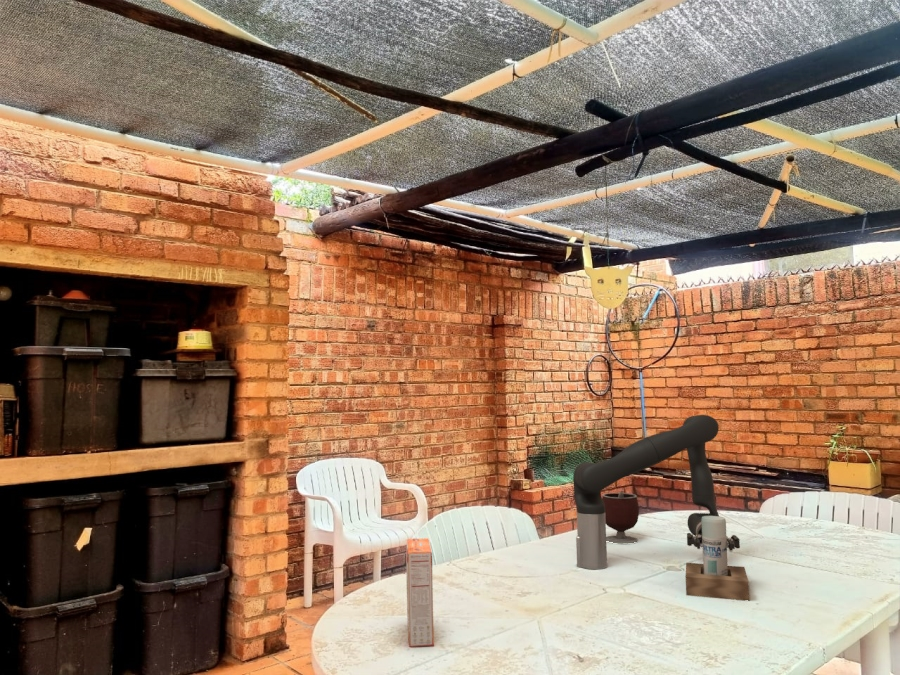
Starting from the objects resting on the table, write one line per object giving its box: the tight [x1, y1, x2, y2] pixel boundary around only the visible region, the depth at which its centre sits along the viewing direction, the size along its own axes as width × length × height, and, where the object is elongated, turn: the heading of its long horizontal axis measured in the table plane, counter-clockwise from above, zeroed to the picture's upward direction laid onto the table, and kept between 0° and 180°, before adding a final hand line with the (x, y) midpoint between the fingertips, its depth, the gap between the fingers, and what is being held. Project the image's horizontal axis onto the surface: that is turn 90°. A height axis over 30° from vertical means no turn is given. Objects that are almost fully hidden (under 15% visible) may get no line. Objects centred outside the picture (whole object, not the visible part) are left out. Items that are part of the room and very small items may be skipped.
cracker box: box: [405, 537, 435, 648], centre depth 150 cm, size 14×6×21 cm, turn 5°
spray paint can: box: [701, 515, 728, 576], centre depth 183 cm, size 6×6×20 cm
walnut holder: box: [685, 562, 751, 602], centre depth 182 cm, size 16×16×5 cm
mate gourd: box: [601, 490, 640, 544], centre depth 246 cm, size 16×14×20 cm
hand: (714, 546), depth 181 cm, fingers open, 8 cm apart
